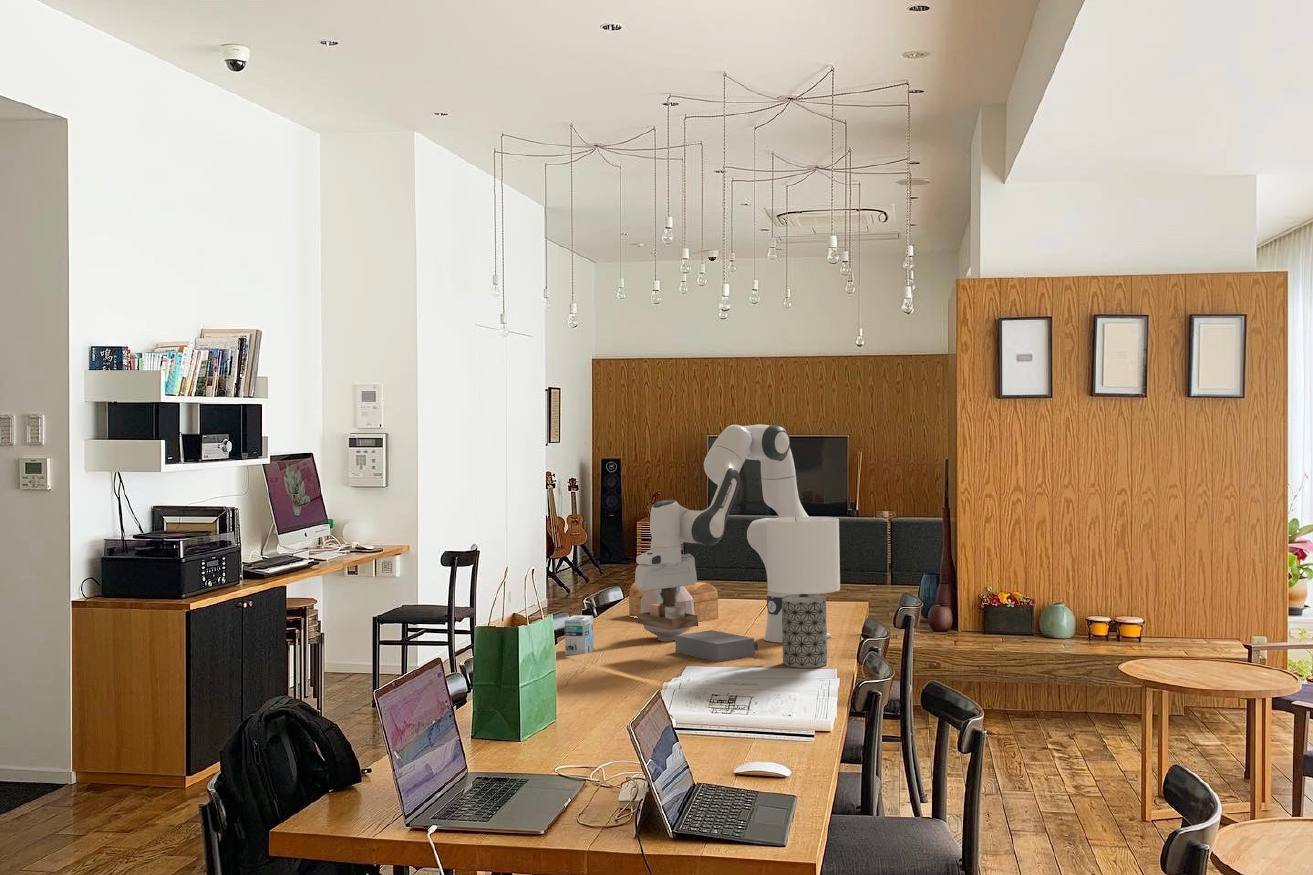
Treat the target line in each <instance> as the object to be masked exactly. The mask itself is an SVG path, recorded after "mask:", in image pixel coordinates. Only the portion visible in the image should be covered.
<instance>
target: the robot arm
mask: <svg viewBox="0 0 1313 875" xmlns="http://www.w3.org/2000/svg"><path fill="white" fill-rule="evenodd" d="M746 460H751V461H752V460H753V461H759V462H760V476H761V477H760V479H761V489H762V497H763V498H762V499H763V501H764V503H765V504H766V506H768V507H769V508H771V509H772V510H773V511H775V512H776V514H777V516H778V518H779V517H810V516H809V515H808V513H807V512H806V510H805V509H804V507H803V504H802V503H801V500H800V496H799V490H798V484H797V475H796V474H797V473H796V467H795V462H794V458H793V453H792V450H791V439H790V435H789V433H788V431H787V430H786V429H785V428H784V427H782V426H779V425H773V424H772V425H768V424H759V423H758V424H753V425H751V424H750V425H739V424H731V425H728V426H727V427H725V428H724V430H722V432H721V433H720V434H719V435H718V437H717V438H716V439H715V441H714V442H713V444H712V446H711V447H710V449H709V451H708V452H707V454H706V456H705V458H704V461H703V470H704V472H705V475H706V476H707V477H708V478H709V479H710V481H712V482H713V483H714V484H716V485H717V488H716V491H715V493H714V496H713V498H712V500H711V503H710V506H708V507H707V508H706V509H704V510H694V509H689V508H686V507H684V506H682V505H680V504H679V502H678V501H677V500H675V499H665V500H664V499H663V500H657V501H656V502H654V504H652V507H651V510H650V516H649V529H650V530H649V531H650V535H651V542H650V549H649V550H647V551H645V552H644V553H641V554H640V555H638V556H636V558H635V561H636V563H637V564H638V565H636V567H635V573H634V574H635V575H634V576H635V577H634V583H635V586H636V588H637V589H638V590H640V591H649V590H653V593H654V595H655V596H656V598H657V604H659V605H661V604H664V603H665V602H664V601H665V600H664V598H662V597H661V595H660V593H661V589H665V588H674V589H675V603H676V602H677V596H678V594H679V592H680V587H681V586H689V585H695V584H696V582H698V577H697V570H696V564H695V562H696V559H695V557H694V556H693V555H692V554H691V553H685V554H682V543H690V544H699V545H703V546H709V547H712V546H714V545H717V544H718V543H719V542H720V540H722V538H723V536H724V534H725V530H726V525H727V520H728V517H729V515H730V511H731V509H732V507H733V505H734V501H735V499H736V496H737V493H738V490H739V488H740V485H741V475H740V474H741V473H740V472H741V469H742V467H743V465H744V464H745V461H746ZM769 518H770V517H764V518H759V519H755V520H753V521H751V523H750V524H749V526H748V528H747V531H746V540H747V541H748V544H749V545H750V547H751V548H752V549H753V550H755V552H756V553H758V555H759V557H760V559H761V560H762V562H763V564H764V567H765V571H766V573H767V528H766V519H769ZM681 542H682V543H681ZM786 595H791V594H788V593H777V592H772V591H769V590H768V589H767V595H766V608H767V616H766V617H767V618H766V623H765V624H766V625H765V632H764V636H763V640H765V641H767V642H772V643H782V644H783V636H782V598H783V597H785V596H786ZM831 634H832V633H829V632H827V639H828V638H831V637H832V635H831Z"/></svg>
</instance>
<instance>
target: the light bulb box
mask: <svg viewBox="0 0 1313 875" xmlns="http://www.w3.org/2000/svg"><path fill="white" fill-rule="evenodd" d="M594 636H595V634H594V616H593V615H582V614H581V615H579V614H578V615H577V614H575V615H574V614H573V615H572V616H569V617H567V618H566V619H564V655H565V656H578V655H586V654H589V653H591V652H593V651H594V650H595V648H594V647H595V643H594V642H595V641H594V639H595V638H594ZM593 649H594V650H593ZM592 650H593V651H592Z"/></svg>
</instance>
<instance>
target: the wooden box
mask: <svg viewBox="0 0 1313 875" xmlns="http://www.w3.org/2000/svg"><path fill="white" fill-rule="evenodd" d="M684 587H685V588H686V590H687V591H688V592H689V594H690V595H691V596H692V597H693V600H694V615H697V621H698V622H702V623H704V622H703V621H706V622H710V621H713V620H714V621H715V620H718V619H719V595H718V589H717V588H716V587H715V586H714V585H712V584H711V583H709V582H702V581H701V582H699V581H697V582H696V584H695V585H689V586H684ZM645 593H646V591H640V590H638V589H637V588H636V586H635V582H633V583H632V584H631V586H630V588H629V590H628V614H629V617H630V616H637V617H638V613H641V598H642V597H643V595H644V594H645Z"/></svg>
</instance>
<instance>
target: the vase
mask: <svg viewBox="0 0 1313 875" xmlns="http://www.w3.org/2000/svg"><path fill="white" fill-rule="evenodd" d="M651 604H657V598H656V596H655V595H654V593H653V590H649V591H646V593H645V594H644V595H643V597H642V598H641V613H643V612H650V605H651ZM675 606H681V607H684V611H685V613H687V614H692V615H694V600H693V597H692V596H691V595H690V594H689V592H688V591H687V590H686V588H685V587H684V586H681V587H680V592H679V594H678V596H677V602H676V603H675ZM642 626H643V628H644V630H645V631H647V632H649V633H651V634H653V635H655V636H657V640H658V641H659V640H663V641H662V642H674V641H673V640H675V641H676V637H675V635H682V634H684V633H685V632H686V631H689V630H690V629H692V627H688V628H681V629H674V630H668V629H663V628H658V627H653V626H648V625H643V624H642Z"/></svg>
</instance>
